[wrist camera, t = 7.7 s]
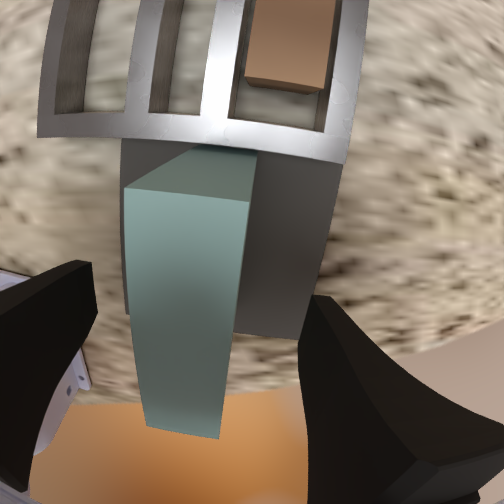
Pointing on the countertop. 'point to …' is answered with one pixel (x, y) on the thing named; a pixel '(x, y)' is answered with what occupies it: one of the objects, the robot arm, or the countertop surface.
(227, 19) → the rack
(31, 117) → the countertop surface
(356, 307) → the countertop surface
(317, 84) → the walnut offcut
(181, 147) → the dark grey square plate
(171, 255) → the teal panel
